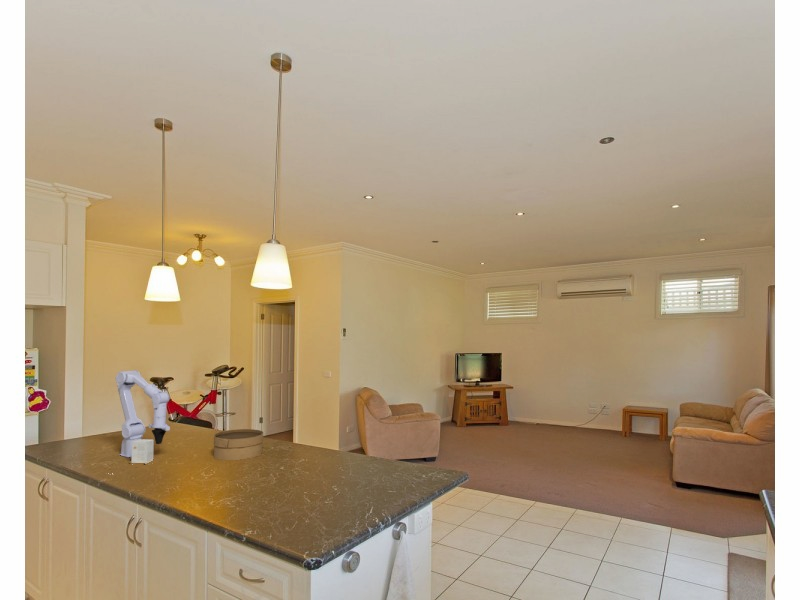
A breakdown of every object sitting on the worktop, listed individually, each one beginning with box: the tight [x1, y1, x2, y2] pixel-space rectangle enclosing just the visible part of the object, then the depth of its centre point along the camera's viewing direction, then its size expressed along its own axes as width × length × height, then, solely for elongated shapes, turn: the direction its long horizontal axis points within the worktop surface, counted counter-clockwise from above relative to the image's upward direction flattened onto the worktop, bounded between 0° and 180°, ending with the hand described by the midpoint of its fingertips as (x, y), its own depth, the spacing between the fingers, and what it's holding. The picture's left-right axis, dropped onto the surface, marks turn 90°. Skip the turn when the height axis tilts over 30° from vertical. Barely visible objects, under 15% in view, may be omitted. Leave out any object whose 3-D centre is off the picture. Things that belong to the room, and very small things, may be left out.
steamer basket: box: [213, 428, 264, 461], centre depth 248 cm, size 25×25×11 cm
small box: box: [130, 438, 155, 464], centre depth 233 cm, size 8×6×10 cm
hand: (158, 443), depth 240 cm, fingers closed
